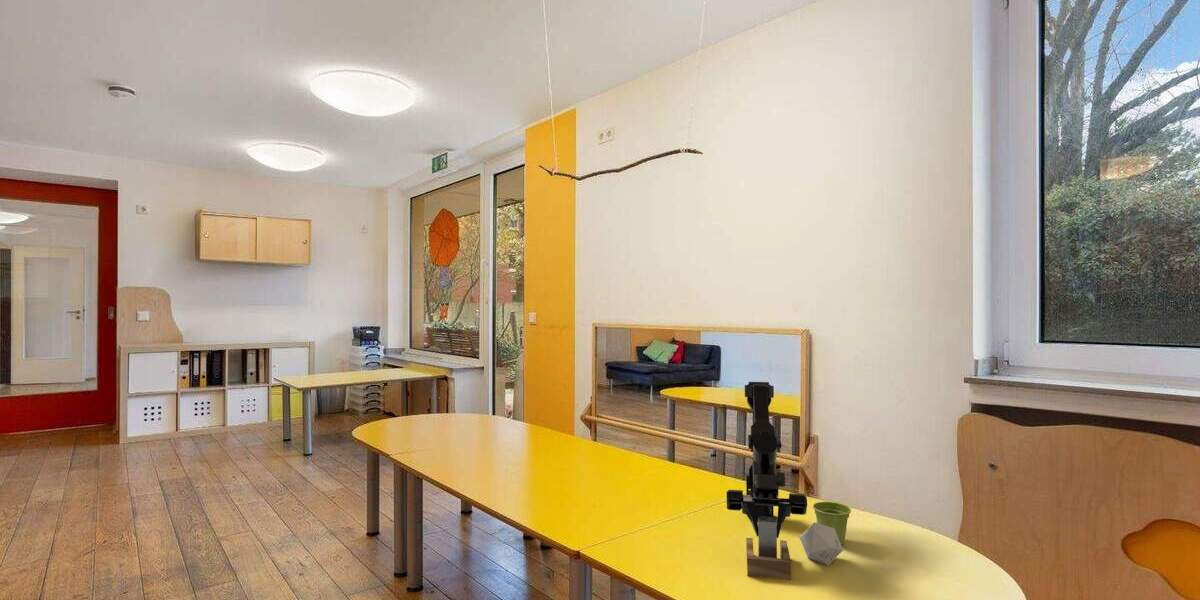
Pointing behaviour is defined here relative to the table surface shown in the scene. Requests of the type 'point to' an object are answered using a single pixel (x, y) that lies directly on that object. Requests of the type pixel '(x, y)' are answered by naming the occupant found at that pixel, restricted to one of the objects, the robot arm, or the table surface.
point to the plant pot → (833, 517)
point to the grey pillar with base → (767, 536)
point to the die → (821, 543)
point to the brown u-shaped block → (768, 563)
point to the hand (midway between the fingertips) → (767, 536)
